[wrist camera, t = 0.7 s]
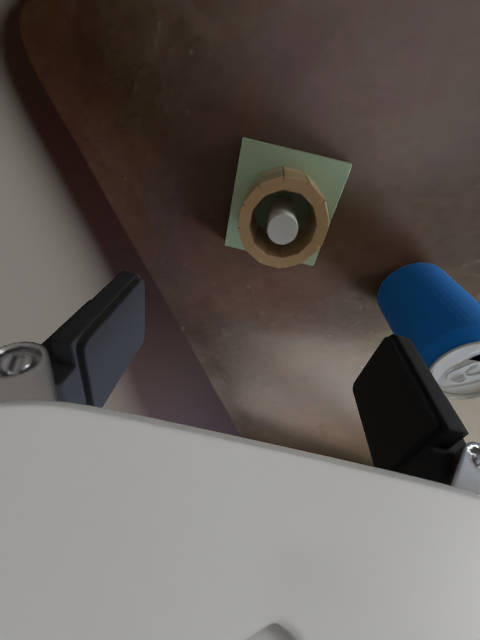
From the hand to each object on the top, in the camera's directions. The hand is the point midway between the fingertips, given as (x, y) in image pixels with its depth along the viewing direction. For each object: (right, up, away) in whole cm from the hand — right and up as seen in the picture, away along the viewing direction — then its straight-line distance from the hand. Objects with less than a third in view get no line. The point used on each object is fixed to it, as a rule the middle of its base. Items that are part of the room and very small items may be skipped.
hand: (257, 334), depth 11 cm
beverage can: (+17, +4, +18) cm, 25 cm away
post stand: (+3, +11, +15) cm, 19 cm away
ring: (+3, +10, +14) cm, 17 cm away
